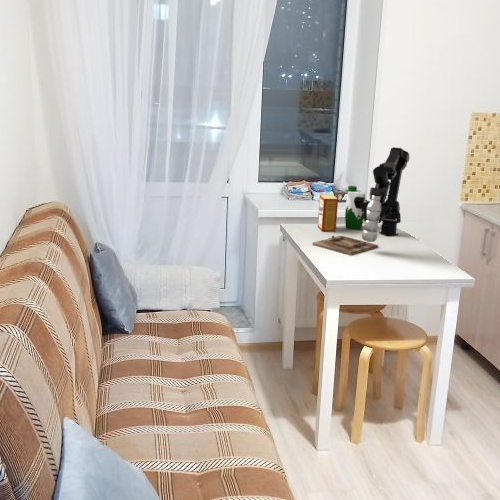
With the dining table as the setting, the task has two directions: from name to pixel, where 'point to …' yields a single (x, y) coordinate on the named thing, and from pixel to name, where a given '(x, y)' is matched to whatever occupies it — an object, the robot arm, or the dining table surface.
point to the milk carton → (353, 209)
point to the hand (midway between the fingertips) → (371, 221)
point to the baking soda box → (327, 213)
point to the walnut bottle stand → (345, 245)
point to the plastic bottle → (372, 219)
